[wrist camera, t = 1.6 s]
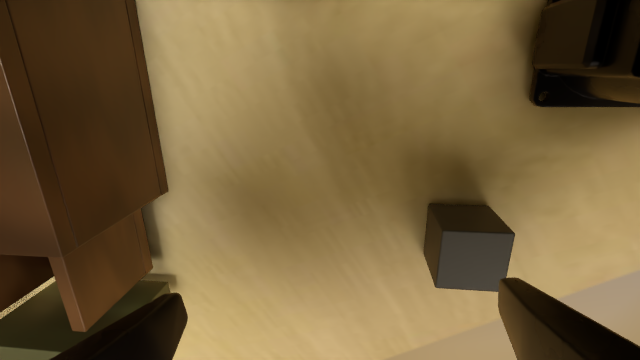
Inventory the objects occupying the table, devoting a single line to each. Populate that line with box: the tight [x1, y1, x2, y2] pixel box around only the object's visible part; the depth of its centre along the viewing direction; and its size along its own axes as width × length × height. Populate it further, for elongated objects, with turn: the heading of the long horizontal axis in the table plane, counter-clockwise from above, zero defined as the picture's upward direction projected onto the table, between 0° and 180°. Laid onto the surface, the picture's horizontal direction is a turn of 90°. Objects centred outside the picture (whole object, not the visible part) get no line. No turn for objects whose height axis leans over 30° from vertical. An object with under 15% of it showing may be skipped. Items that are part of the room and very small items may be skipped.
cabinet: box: [0, 0, 168, 258], centre depth 16 cm, size 12×9×8 cm
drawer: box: [0, 208, 170, 360], centre depth 19 cm, size 12×8×6 cm
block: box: [424, 204, 515, 292], centre depth 18 cm, size 4×4×4 cm
